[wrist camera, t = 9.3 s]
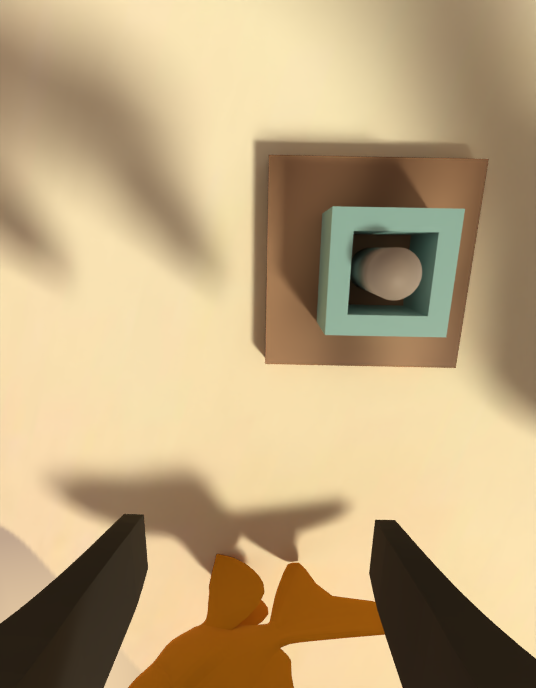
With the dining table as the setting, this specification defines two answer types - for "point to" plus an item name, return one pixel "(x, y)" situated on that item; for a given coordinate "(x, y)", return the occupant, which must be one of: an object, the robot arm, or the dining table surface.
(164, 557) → the dining table surface
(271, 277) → the post block
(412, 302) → the collar
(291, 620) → the toy
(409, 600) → the robot arm
